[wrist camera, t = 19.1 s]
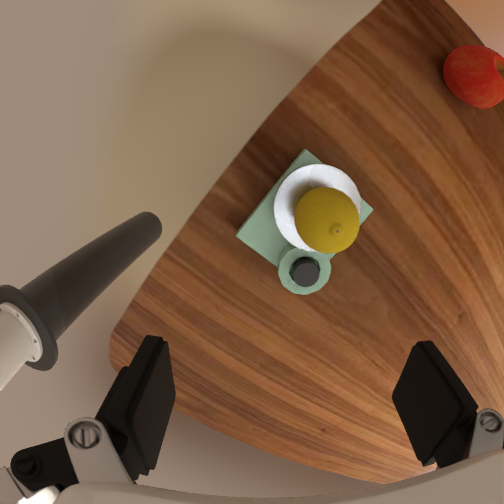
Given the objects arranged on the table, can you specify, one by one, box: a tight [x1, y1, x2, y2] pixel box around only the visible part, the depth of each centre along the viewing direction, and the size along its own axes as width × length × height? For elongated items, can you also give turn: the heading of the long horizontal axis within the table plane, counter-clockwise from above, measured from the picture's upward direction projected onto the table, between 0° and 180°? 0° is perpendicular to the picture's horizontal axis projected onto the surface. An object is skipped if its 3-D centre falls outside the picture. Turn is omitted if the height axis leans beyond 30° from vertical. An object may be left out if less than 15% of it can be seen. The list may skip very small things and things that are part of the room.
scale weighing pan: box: [273, 164, 362, 252], centre depth 28 cm, size 9×9×1 cm
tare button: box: [292, 258, 320, 287], centre depth 31 cm, size 3×3×2 cm
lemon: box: [294, 187, 360, 253], centre depth 24 cm, size 6×6×8 cm
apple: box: [443, 45, 504, 109], centre depth 20 cm, size 8×8×11 cm
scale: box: [236, 149, 373, 295], centre depth 31 cm, size 13×11×4 cm
